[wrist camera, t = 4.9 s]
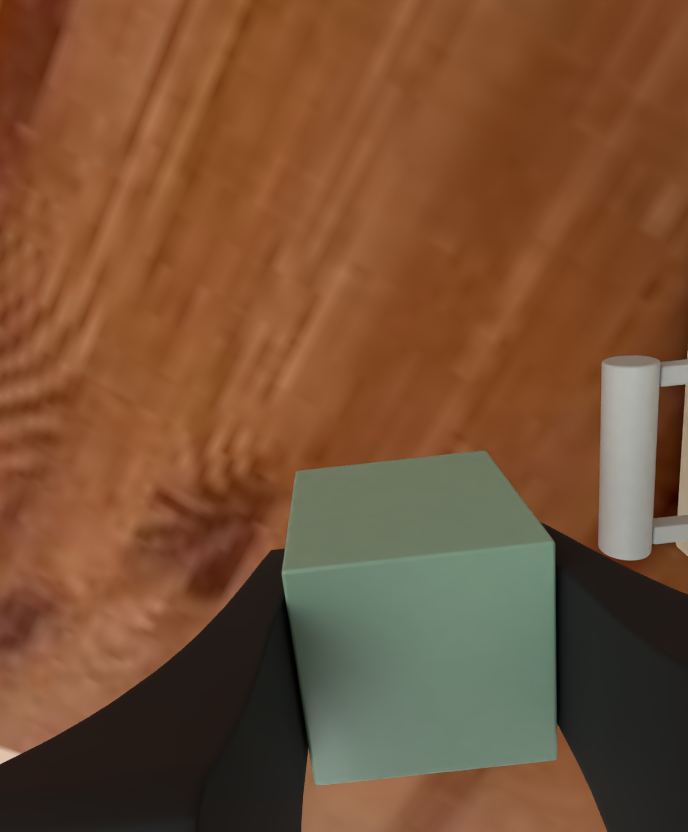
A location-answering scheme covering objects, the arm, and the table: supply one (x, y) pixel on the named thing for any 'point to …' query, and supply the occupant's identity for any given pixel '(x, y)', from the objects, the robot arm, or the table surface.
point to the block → (420, 618)
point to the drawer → (637, 457)
